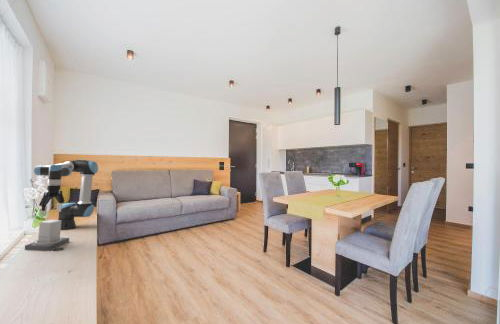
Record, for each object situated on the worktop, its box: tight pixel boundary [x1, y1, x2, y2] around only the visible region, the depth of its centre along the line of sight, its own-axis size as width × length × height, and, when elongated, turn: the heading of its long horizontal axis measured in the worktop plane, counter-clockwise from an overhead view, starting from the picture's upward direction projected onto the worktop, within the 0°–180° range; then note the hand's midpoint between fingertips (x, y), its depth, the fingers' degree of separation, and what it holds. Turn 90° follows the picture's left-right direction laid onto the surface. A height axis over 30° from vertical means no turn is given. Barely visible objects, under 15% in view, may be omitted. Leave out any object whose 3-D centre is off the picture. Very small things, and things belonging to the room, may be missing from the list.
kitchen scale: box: [24, 236, 70, 251], centre depth 164 cm, size 19×16×4 cm
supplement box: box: [37, 219, 62, 243], centre depth 165 cm, size 9×9×15 cm
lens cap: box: [52, 246, 65, 252], centre depth 158 cm, size 6×6×1 cm
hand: (51, 213), depth 166 cm, fingers open, 13 cm apart
